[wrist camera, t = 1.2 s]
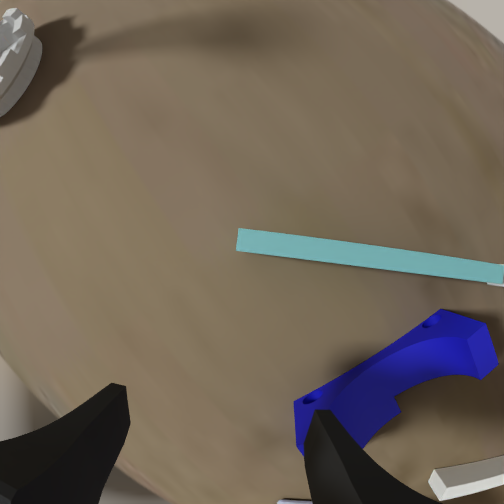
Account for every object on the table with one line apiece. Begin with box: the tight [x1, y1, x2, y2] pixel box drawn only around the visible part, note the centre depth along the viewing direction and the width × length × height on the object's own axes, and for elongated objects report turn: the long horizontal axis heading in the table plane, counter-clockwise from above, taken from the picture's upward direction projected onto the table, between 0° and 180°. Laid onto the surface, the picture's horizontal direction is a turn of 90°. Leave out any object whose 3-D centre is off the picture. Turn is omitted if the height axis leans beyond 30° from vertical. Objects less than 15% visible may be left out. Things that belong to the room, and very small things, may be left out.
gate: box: [236, 228, 504, 284], centre depth 18 cm, size 17×1×3 cm, turn 83°
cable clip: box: [294, 309, 499, 456], centre depth 17 cm, size 12×4×6 cm, turn 121°
